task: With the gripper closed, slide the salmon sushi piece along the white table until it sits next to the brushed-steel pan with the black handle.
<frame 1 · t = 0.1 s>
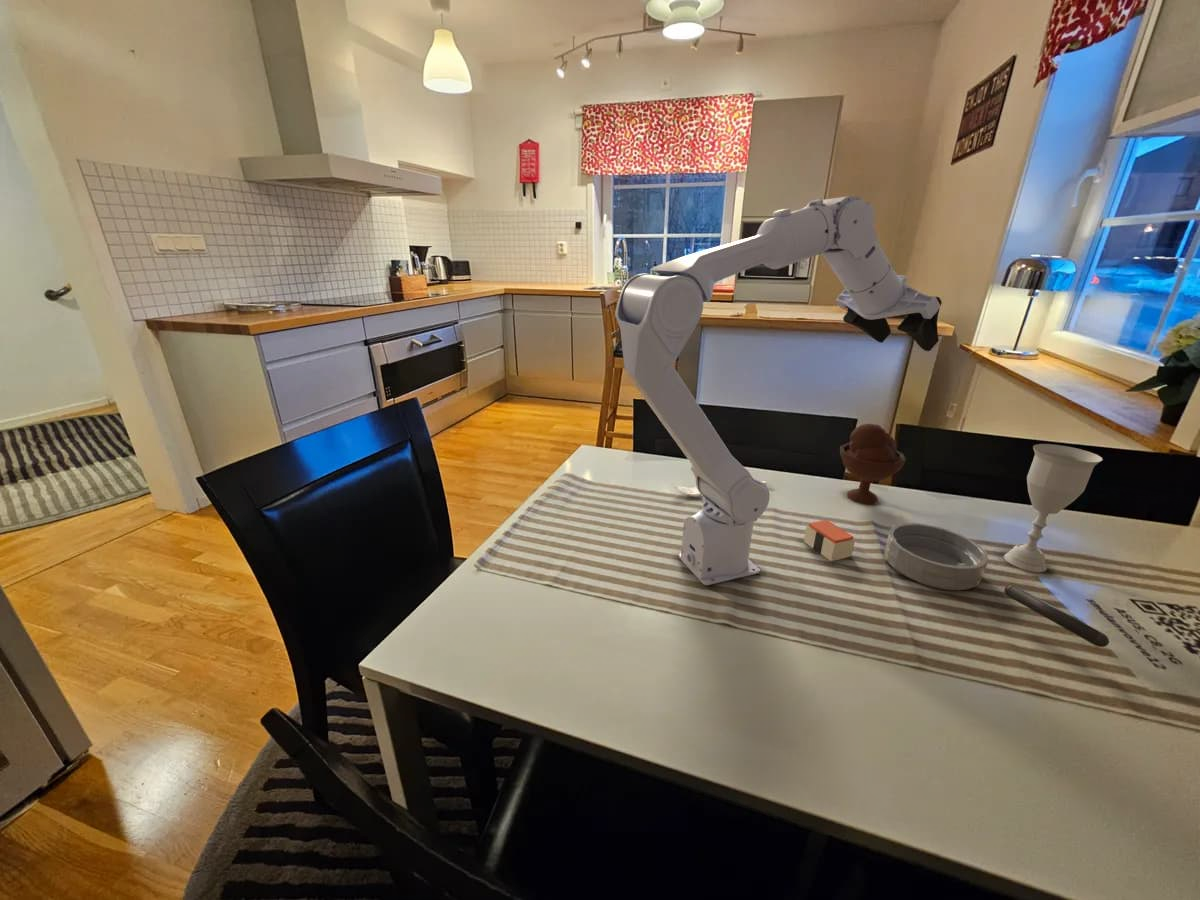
hand: (907, 341, 71), 32 cm above the table, tool tilted 50°, fingers open, 7 cm apart
pan: (929, 567, 73), on the table
chalice: (1024, 563, 75), on the table
ice cream bowl: (861, 498, 95), on the table
sushi: (826, 548, 78), on the table
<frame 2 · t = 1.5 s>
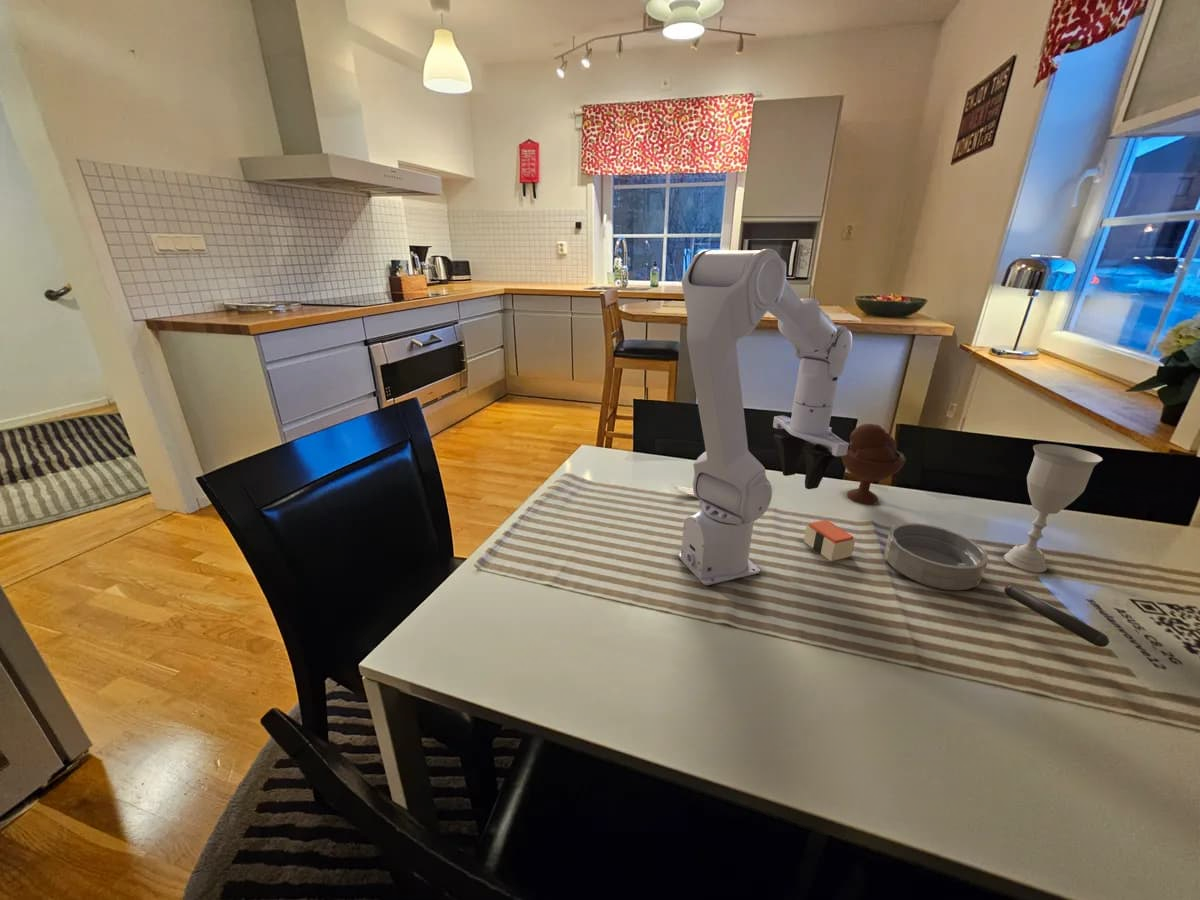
hand: (799, 481, 82), 8 cm above the table, tool pointing down, fingers open, 5 cm apart
nothing on the table moved.
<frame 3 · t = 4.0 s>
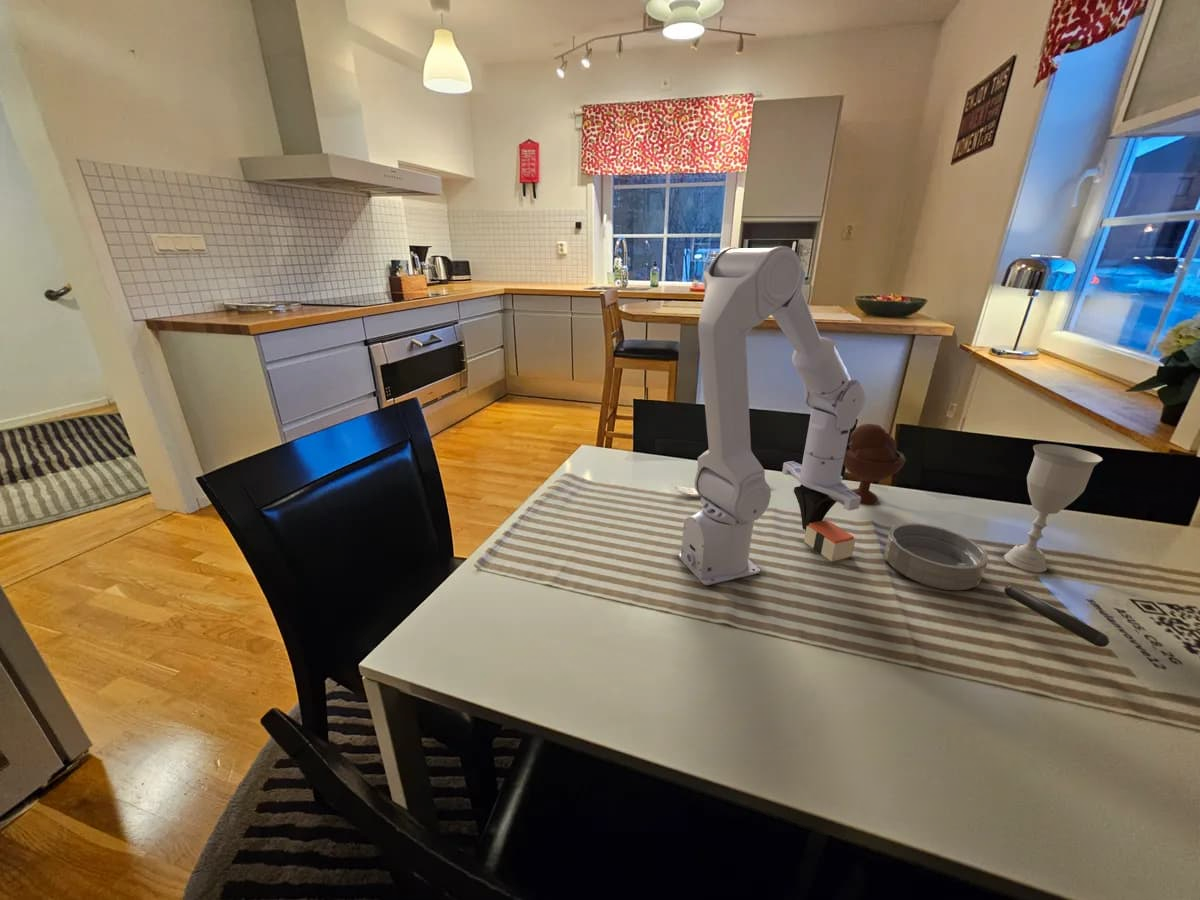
hand: (809, 529, 81), 1 cm above the table, tool pointing down, fingers closed
sushi: (827, 549, 78), on the table, touching gripper
everything else where it was.
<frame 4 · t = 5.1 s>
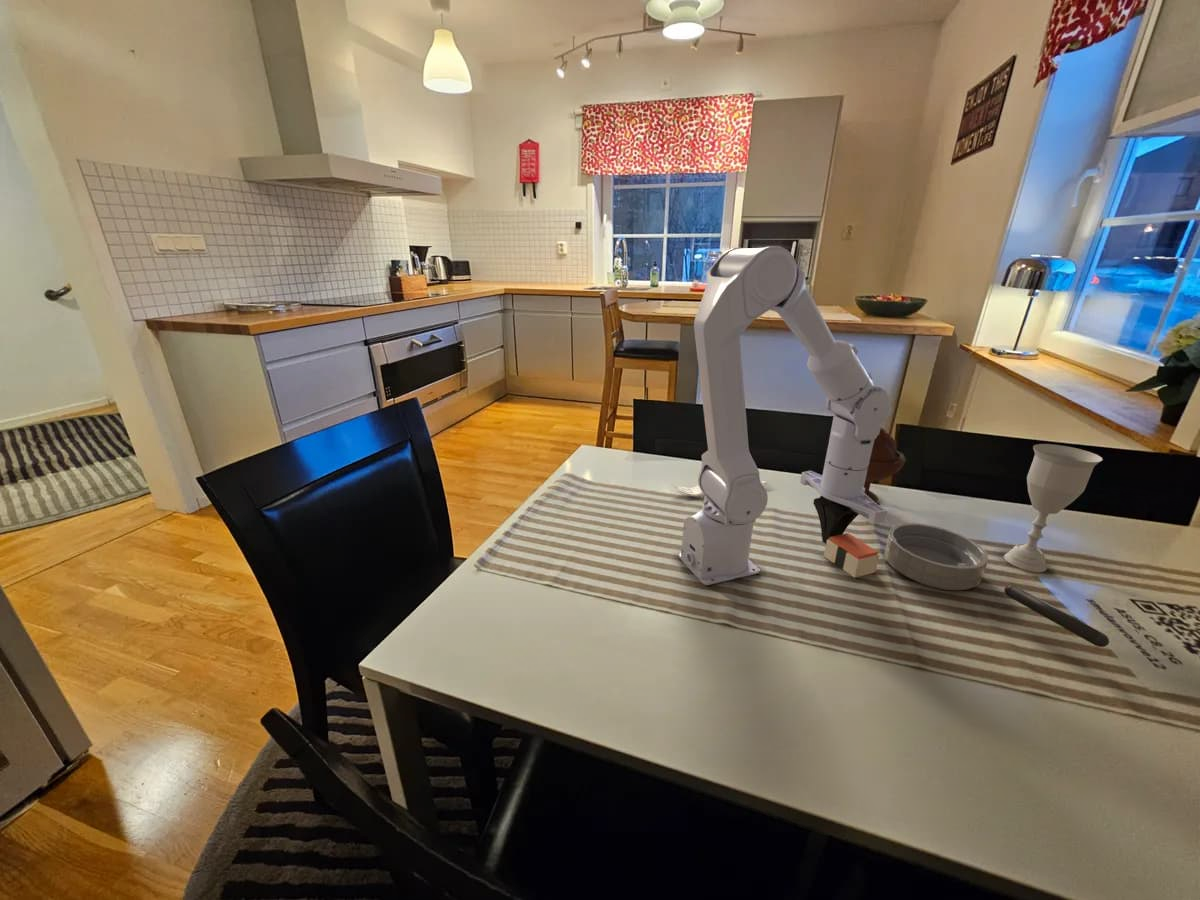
hand: (830, 542, 77), 1 cm above the table, tool pointing down, fingers closed
sushi: (848, 564, 74), on the table, touching gripper
everything else where it was.
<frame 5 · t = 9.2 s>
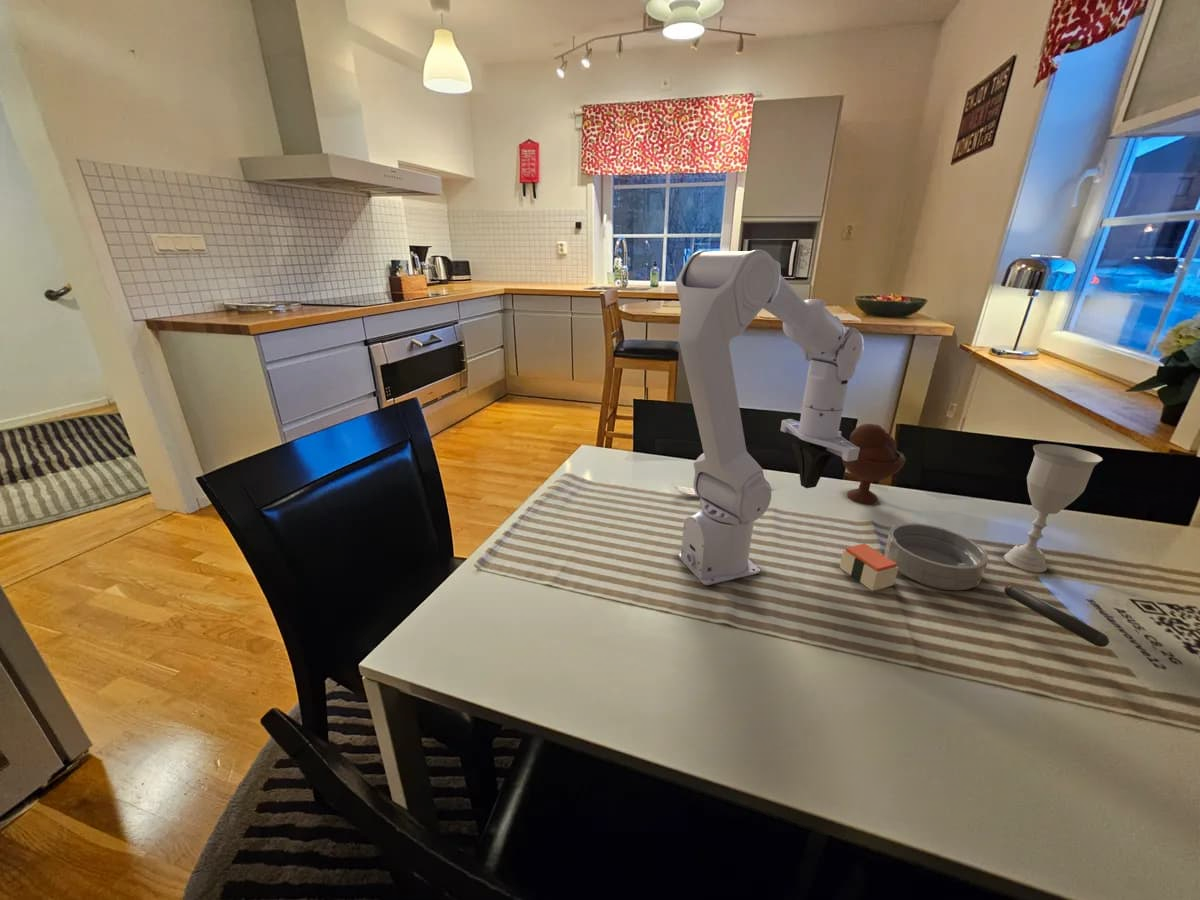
hand: (808, 485, 80), 8 cm above the table, tool pointing down, fingers closed
sushi: (865, 576, 71), on the table
everything else where it was.
at the end: sushi 11.1 cm from the pan (horizontally); sushi moved 7.6 cm from its start; sushi tilted 0° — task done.
